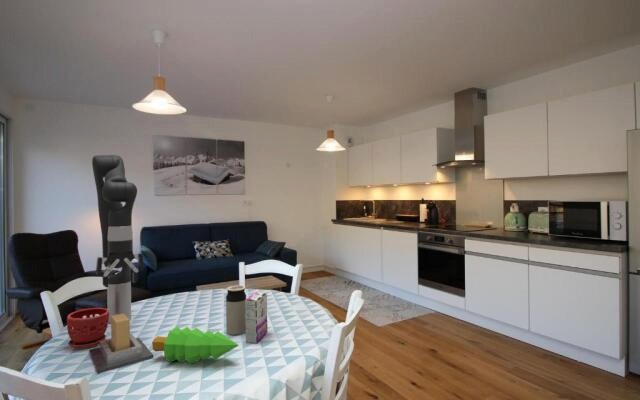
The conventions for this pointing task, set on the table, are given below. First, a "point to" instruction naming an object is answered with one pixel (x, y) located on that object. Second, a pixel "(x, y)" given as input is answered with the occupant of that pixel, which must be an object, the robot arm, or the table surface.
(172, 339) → the decorative tree
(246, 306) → the candy bar box
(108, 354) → the duct flange
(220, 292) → the table surface
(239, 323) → the travel mug
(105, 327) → the plant pot
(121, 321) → the tan rectangular block
